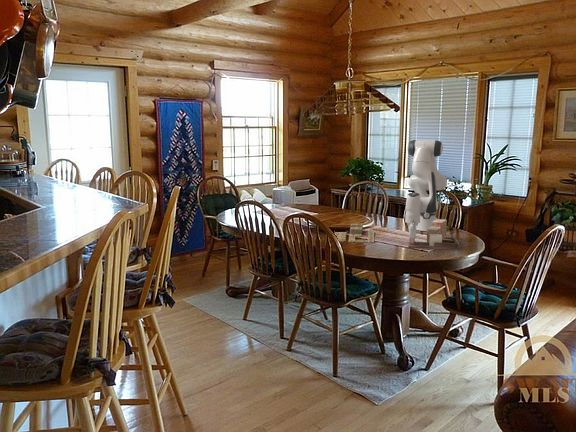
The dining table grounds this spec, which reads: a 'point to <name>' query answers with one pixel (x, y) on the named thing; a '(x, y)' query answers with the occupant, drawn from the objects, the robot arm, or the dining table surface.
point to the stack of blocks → (437, 228)
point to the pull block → (430, 240)
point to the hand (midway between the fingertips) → (411, 241)
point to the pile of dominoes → (355, 234)
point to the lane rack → (438, 245)
